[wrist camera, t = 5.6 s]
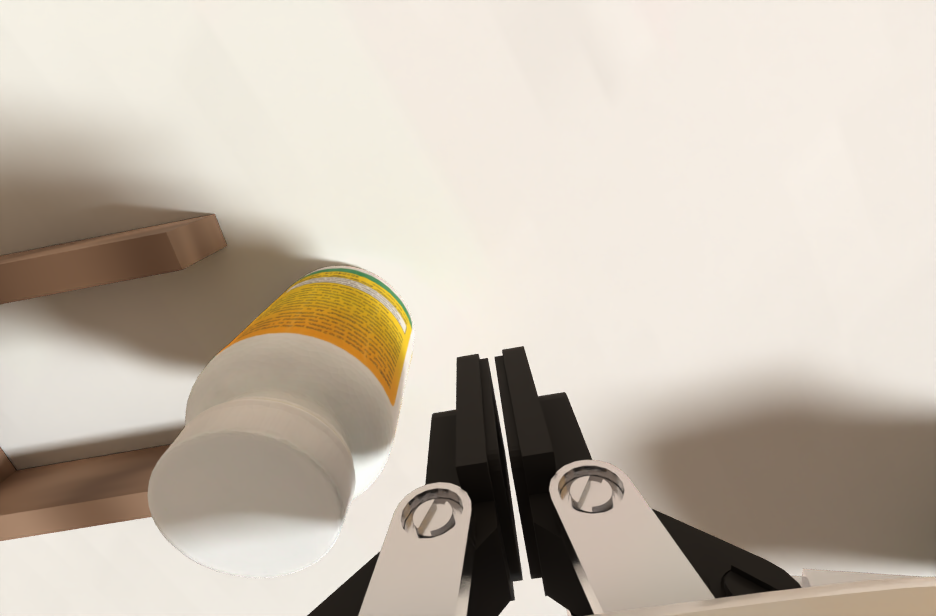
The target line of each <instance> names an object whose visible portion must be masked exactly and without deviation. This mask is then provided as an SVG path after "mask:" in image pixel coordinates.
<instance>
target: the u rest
mask: <svg viewBox="0 0 936 616" xmlns="http://www.w3.org/2000/svg"><path fill="white" fill-rule="evenodd" d="M226 246H227V244H226V242H225V239H224V237H223V234H222V231H221V229H220V226H219V224H218V221H217V219H216V216H215V214H212V215H207V216H202V217H197V218H192V219H187V220H182V221H177V222H171V223H166V224H161V225H156V226H151V227H146V228H141V229H136V230H130V231H125V232H120V233H115V234H110V235H105V236H100V237H94V238H89V239H84V240H79V241H74V242H69V243H64V244H59V245H53V246H48V247H43V248H38V249H33V250H28V251H23V252H18V253H12V254H7V255H2V256H0V304H4V303H9V302H15V301H20V300H25V299H30V298H36V297H41V296H46V295H52V294H57V293H62V292H67V291H73V290H78V289H83V288H89V287H94V286H99V285H104V284H110V283H115V282H120V281H126V280H131V279H136V278H141V277H147V276H152V275H157V274H163V273H168V272H173V271H178V270H183V269H185V268H187V267H188V266H190V265H192V264H194V263H196V262H198V261H200V260H202V259H204V258H205V257H207V256H209V255H211V254H213V253H215V252H217V251H219V250H221V249H222V248H224V247H226ZM169 447H170V445H165V446H159V447H153V448H147V449H141V450H135V451H129V452H123V453H117V454H111V455H105V456H99V457H94V458H88V459H82V460H76V461H70V462H64V463H58V464H52V465H46V466H40V467H34V468H28V469H23V470H17V471H16V469H15V468H14V466H13V465H12V464H11V462H10V461H9V459H8V458H7V456H6V455H5V453H4V452H3V450H2V449H1V448H0V541H4V540H10V539H16V538H22V537H29V536H35V535H41V534H47V533H54V532H60V531H66V530H72V529H78V528H85V527H91V526H97V525H103V524H110V523H116V522H122V521H128V520H134V519H141V518H147V517H152V515H151V512H150V509H149V504H148V485H149V480H150V477H151V474H152V471H153V469H154V467H155V466H156V464H157V462H158V460H159V459H160V458H161V456H162V455H163V454H164V453H165V451H166V450H167V449H168V448H169Z"/></svg>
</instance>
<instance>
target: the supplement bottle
mask: <svg viewBox="0 0 936 616" xmlns="http://www.w3.org/2000/svg"><path fill="white" fill-rule="evenodd" d="M414 338H415V332H414V323H413V319H412V315H411V313H410V310H409V308H408V306H407V304H406V303H405V301H404V300H403V299H402V297H401V296H400V295H399V294H398V292H397V291H396V290H395V289H394V288H393V287H392V286H391V285H390V284H389V283H387V282H386V281H385V280H383V279H382V278H380V277H379V276H377V275H375V274H373V273H371V272H369V271H366V270H364V269H360V268H356V267H351V266H329V267H324V268H320V269H317V270H315V271H313V272H311V273H308V274H307V275H305V276H303V277H302V278H300V279H299V280H298V281H297V282H296V283H294V284H293V285H292V286H291V287H289V288H288V289H287V290H286V291H285V292H284V293H283V294H282V295H281V296H280V297H279V298H278V299H276V300H275V301H274V302H273V303H272V304H271V305H270V306H269V307H268V308H267V309H266V310H265V311H263V312H262V313H261V314H260V315H259V316H258V317H257V318H256V319H255V320H254V321H253V322H252V323H251V324H250V325H249V326H248V327H247V328H246V329H244V330H243V331H242V332H241V333H240V334H239V335H238V336H237V337H236V338H235V339H234V340H233V341H232V342H230V343H229V344H228V345H227V346H226V347H225V348H223V349H222V350H221V351H220V352H219V353H218V354H217V355H215V356H214V357H213V359H212V360H211V361H210V362H209V364H208V365H207V366H206V367H205V368H204V369H203V371H202V372H201V374H200V375H199V376H198V378H197V380H196V382H195V383H194V385H193V387H192V390H191V392H190V395H189V398H188V402H187V407H186V417H185V425H186V426H185V427H184V429H183V430H182V431H181V433H180V434H179V436H178V437H177V438H176V439H175V441H174V442H173V443H172V444H171V445H170V447H169V448H168V449H167V450H166V451H165V453H164V454H163V455H162V456H161V458H160V459H159V460H158V462H157V464H156V466H155V467H154V469H153V471H152V474H151V477H150V480H149V485H148V504H149V509H150V512H151V515H152V518H153V520H154V522H155V524H156V525H157V527H158V529H159V530H160V532H161V533H162V535H163V536H164V537H165V538H166V539H167V540H168V541H169V542H170V543H171V544H172V545H173V546H174V547H175V548H177V549H178V550H179V551H180V552H181V553H183V554H184V555H185V556H187V557H188V558H190V559H191V560H193V561H195V562H196V563H198V564H200V565H203V566H205V567H207V568H210V569H212V570H215V571H217V572H221V573H225V574H229V575H235V576H242V577H248V578H272V577H279V576H284V575H288V574H291V573H295V572H297V571H300V570H303V569H305V568H307V567H309V566H310V565H312V564H314V563H316V562H317V561H319V560H320V559H321V558H322V557H323V556H324V555H325V554H326V553H327V552H328V551H329V550H330V549H331V548H332V546H333V545H334V543H335V542H336V540H337V538H338V536H339V534H340V532H341V529H342V526H343V523H344V520H345V517H346V514H347V511H348V508H349V505H350V503H351V501H352V500H353V499H355V498H356V497H358V496H359V495H360V494H362V493H363V492H364V491H365V490H366V489H367V488H369V487H370V486H371V484H372V483H373V482H374V481H375V480H376V479H377V477H378V476H379V474H380V473H381V472H382V470H383V468H384V466H385V464H386V462H387V460H388V457H389V455H390V452H391V449H392V445H393V441H394V437H395V432H396V427H397V423H398V418H399V413H400V408H401V403H402V399H403V393H404V388H405V383H406V379H407V375H408V371H409V366H410V362H411V358H412V353H413V347H414Z"/></svg>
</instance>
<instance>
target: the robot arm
mask: <svg viewBox="0 0 936 616" xmlns="http://www.w3.org/2000/svg"><path fill="white" fill-rule="evenodd" d="M502 353H503V356H497V357H495V363H496V370H497V377H498V383H499V390H500V397H501V403H502V410H503V417H504V424H505V430H506V437H507V444H508V450H509V456H510V462H511V468H512V474H513V480H514V485H515V491H516V496H517V502H518V507H519V513H520V519H521V524H522V530H523V535H524V541H525V546H526V552H527V558H528V563H529V569H530V574H531V579H534V578H541V577H542V580H543V586H544V591H545V596H549V597H550V598H552V599H553V600H555V601H556V602H558V603H559V604H561V605H562V606H563V607H565V608H566V609H567V615H568V616H936V577H920V576H905V575H890V574H875V573H860V572H845V571H830V570H815V569H803V571H802V576H790V575H789V574H788V573H787V572H786V571H784V570H783V569H781V568H780V567H778V566H776V565H774V564H773V563H771V562H769V561H767V560H765V559H763V558H761V557H758V556H756V555H754V554H752V553H750V552H747V551H745V550H743V549H741V548H738V547H736V546H734V545H732V544H729V543H727V542H725V541H723V540H721V539H718V538H716V537H714V536H712V535H709V534H707V533H705V532H703V531H701V530H698V529H696V528H694V527H692V526H689V525H687V524H685V523H683V522H680V521H678V520H676V519H674V518H672V517H669V516H667V515H665V514H663V513H660V512H658V511H656V510H654V509H652V508H650V506H649V505H648V503H647V502H646V501H645V499H644V498H643V496H642V495H641V494H640V492H639V491H638V489H637V488H636V487H635V485H634V484H633V482H632V481H631V480H630V478H629V477H628V476H627V475H626V474H625V473H624V472H623V471H622V470H621V469H619V468H617V467H616V466H614V465H612V464H610V463H606V462H603V461H599V460H592V458H591V455H590V453H589V450H588V448H587V445H586V443H585V440H584V438H583V435H582V433H581V430H580V427H579V425H578V422H577V420H576V417H575V415H574V412H573V410H572V407H571V405H570V402H569V399H568V397H567V395H566V393H565V392H563V393H556V394H550V395H544V396H538V395H537V391H536V388H535V384H534V381H533V377H532V374H531V371H530V367H529V364H528V360H527V357H526V353H525V350H524V346H522V347H516V348H510V349H504V350H502ZM520 580H523V578H522V571H521V563H520V556H519V549H518V542H517V535H516V527H515V520H514V513H513V506H512V499H511V491H510V484H509V477H508V470H507V462H506V456H505V450H504V444H503V438H502V433H501V427H500V422H499V416H498V411H497V406H496V400H495V395H494V389H493V384H492V378H491V373H490V367H489V362H488V358H485V359H480V358H479V354H474V355H468V356H462V357H457V382H456V410H451V411H445V412H439V413H433V414H432V420H431V430H430V441H429V452H428V463H427V473H426V484H425V485H424V486H422V487H419V488H417V489H415V490H414V491H412V492H411V493H409V494H408V495H406V496H405V498H404V499H403V500H402V501H401V502H400V503H399V504H398V506H397V508H396V510H395V512H394V514H393V517H392V520H391V523H390V525H389V528H388V531H387V534H386V537H385V540H384V543H383V546H382V549H381V551H380V552H379V553H378V554H377V555H375V556H374V557H373V558H372V559H371V560H370V561H369V562H367V563H366V564H365V565H364V566H363V567H362V568H361V569H360V570H358V571H357V572H356V573H355V574H354V575H353V576H352V577H350V578H349V579H348V580H347V581H346V582H345V583H344V584H343V585H341V586H340V587H339V588H338V589H337V590H336V591H335V592H333V593H332V594H331V595H330V596H329V597H328V598H327V599H326V600H324V601H323V602H322V603H321V604H320V605H319V606H318V607H316V608H315V609H314V610H313V611H312V612H311V613H310V614H309V615H307V616H498V615H499V614H500V613H501V612H502V610H503V609H504V608H505V607H506V605H507V604H508V603H509V602H510V601H513V600H515V597H514V589H513V581H520Z"/></svg>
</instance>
